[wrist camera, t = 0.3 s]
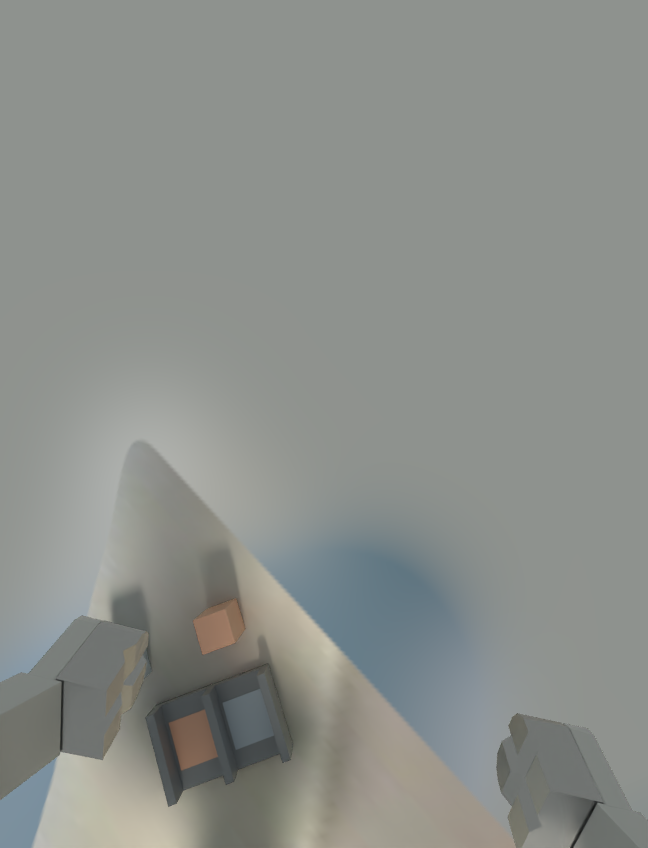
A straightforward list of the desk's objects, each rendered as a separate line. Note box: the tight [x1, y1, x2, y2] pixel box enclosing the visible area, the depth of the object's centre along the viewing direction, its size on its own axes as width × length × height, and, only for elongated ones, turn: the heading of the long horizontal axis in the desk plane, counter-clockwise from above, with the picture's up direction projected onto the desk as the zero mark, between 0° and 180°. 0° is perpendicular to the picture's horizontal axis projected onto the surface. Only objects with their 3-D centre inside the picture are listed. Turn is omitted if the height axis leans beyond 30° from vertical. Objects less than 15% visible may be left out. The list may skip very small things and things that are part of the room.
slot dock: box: [146, 664, 293, 807], centre depth 56 cm, size 10×15×4 cm, turn 109°
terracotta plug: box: [193, 598, 245, 655], centre depth 57 cm, size 4×4×6 cm
